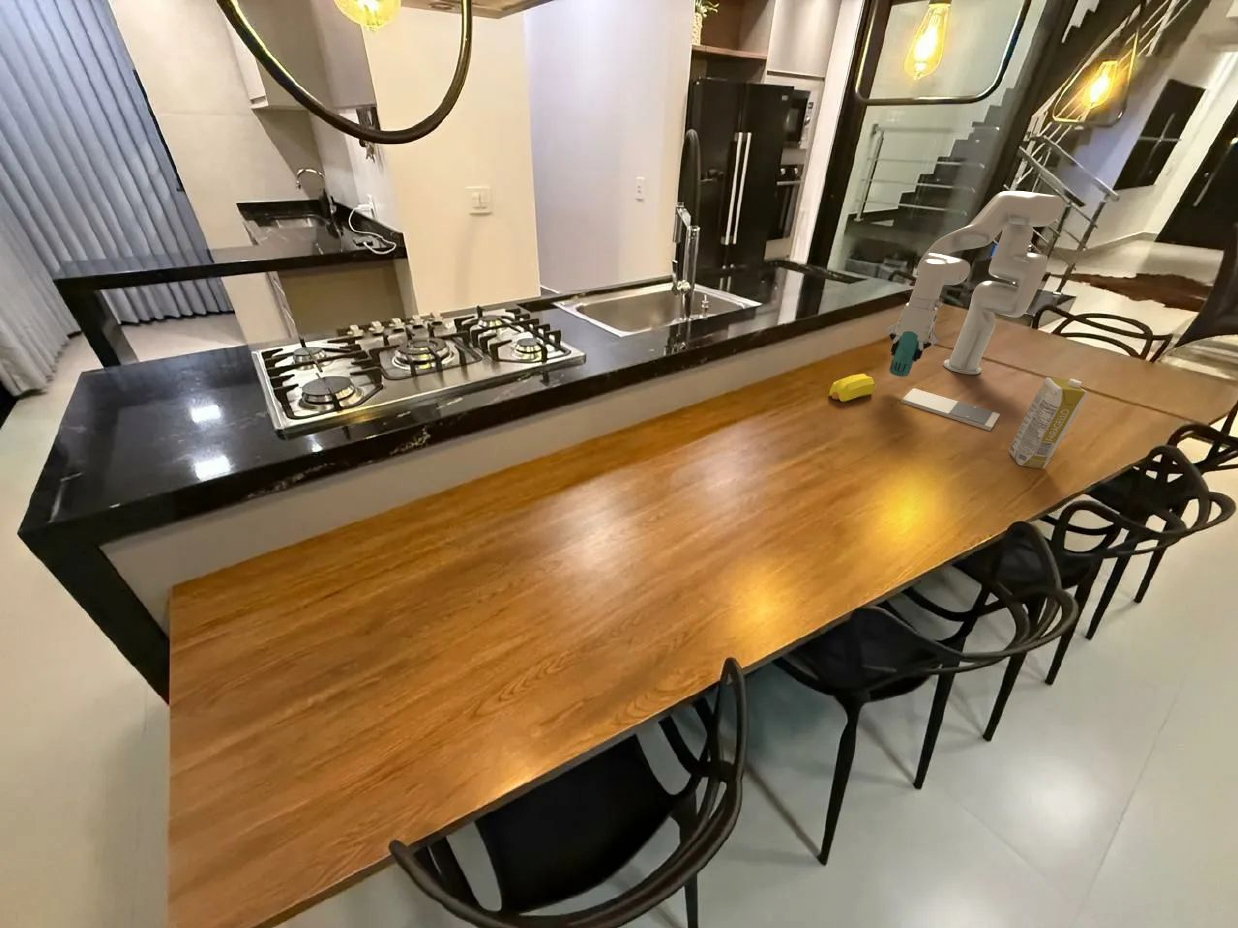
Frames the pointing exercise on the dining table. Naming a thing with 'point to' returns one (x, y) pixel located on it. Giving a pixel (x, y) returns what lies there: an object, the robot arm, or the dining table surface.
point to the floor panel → (951, 408)
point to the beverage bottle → (904, 354)
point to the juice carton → (1047, 421)
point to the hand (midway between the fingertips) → (904, 357)
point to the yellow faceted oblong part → (852, 387)
